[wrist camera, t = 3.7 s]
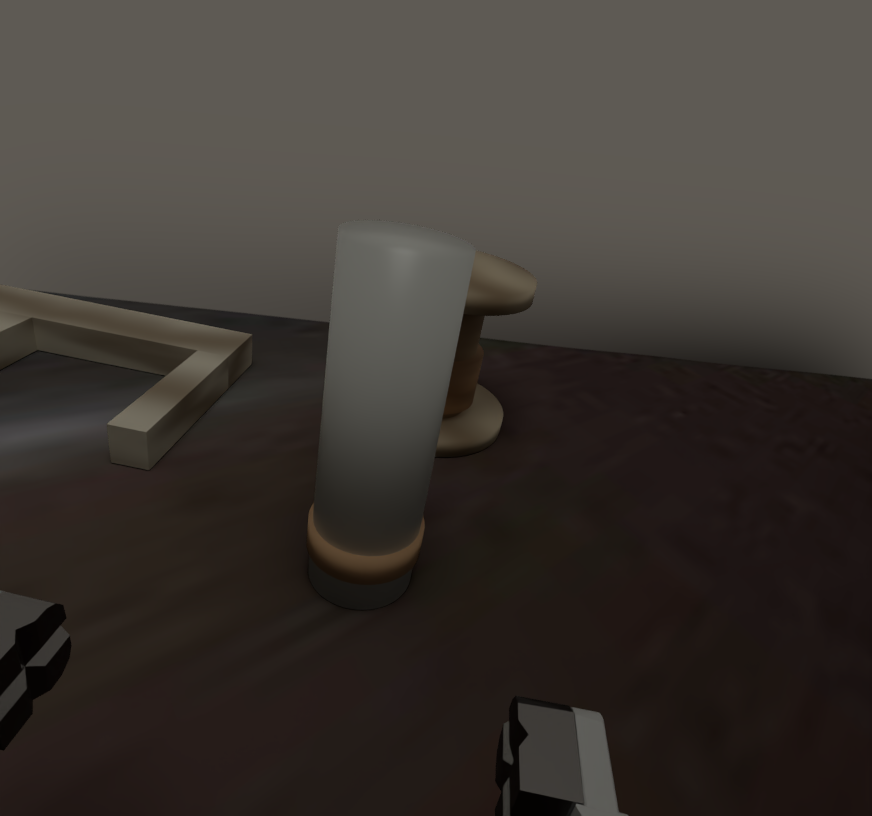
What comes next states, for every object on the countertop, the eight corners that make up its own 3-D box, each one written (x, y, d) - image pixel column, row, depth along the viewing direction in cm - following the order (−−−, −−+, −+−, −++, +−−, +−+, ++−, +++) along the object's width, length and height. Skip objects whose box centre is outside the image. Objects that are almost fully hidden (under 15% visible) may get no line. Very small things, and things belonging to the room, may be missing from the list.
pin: (376, 521, 26) (422, 219, 20) (436, 586, 23) (511, 258, 17) (284, 553, 23) (305, 217, 17) (339, 630, 21) (387, 263, 14)
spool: (437, 371, 41) (462, 240, 36) (530, 436, 35) (572, 289, 31) (320, 392, 35) (333, 241, 31) (407, 473, 29) (437, 301, 25)
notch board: (-21, 309, 37) (-27, 279, 36) (251, 364, 37) (252, 334, 36) (-230, 393, 27) (-247, 352, 26) (149, 470, 26) (146, 432, 25)
